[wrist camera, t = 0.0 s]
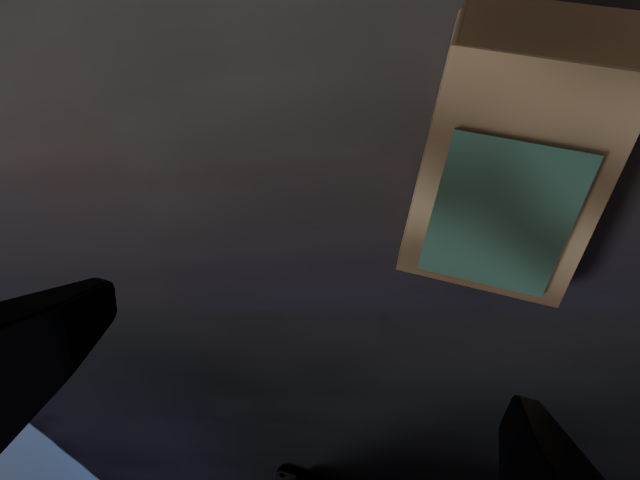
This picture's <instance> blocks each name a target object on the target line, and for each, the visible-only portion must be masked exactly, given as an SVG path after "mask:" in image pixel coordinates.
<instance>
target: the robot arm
mask: <svg viewBox="0 0 640 480" xmlns="http://www.w3.org/2000/svg"><path fill="white" fill-rule="evenodd" d="M116 313H117V306H116V297H115V288H114V285H113V283H112V282H110V281H108V280H104V279H101V278H90V279H86V280H82V281H79V282H75V283H71V284H67V285H63V286H59V287H55V288H51V289H47V290H43V291H39V292H36V293H32V294H28V295H24V296H20V297H16V298H12V299H8V300H4V301H0V454H1V453H2V452H3V450H4V449H5V448H6V447H7V446H8V445H9V444H10V443H11V442H12V441H13V440H14V438H15V437H16V436H17V435H18V434H19V433H20V432H21V431H22V430H23V428H25V426H26V425H27V424H28V423H29V422H30V421H31V420H32V419H33V418H34V417H35V415H36V414H37V413H38V412H39V411H40V410H41V409H42V408H43V407H44V406H45V404H46V403H47V402H48V401H49V400H50V399H51V398H52V397H53V396H54V395H55V394H56V392H57V391H58V390H59V389H60V388H61V387H62V386H63V385H64V384H65V383H66V381H67V380H68V379H69V378H70V377H71V376H72V375H73V373H74V372H75V371H76V370H77V368H78V367H79V366H80V365H81V363H82V362H83V361H84V359H85V358H86V357H87V355H88V354H89V353H90V351H91V350H92V349H93V347H94V346H95V345H96V343H97V342H98V341H99V339H100V338H101V337H102V335H103V334H104V333H105V331H106V330H107V329H108V327H109V326H110V325H111V323H112V322H113V321H114V319H115V317H116ZM276 480H322V479H319V478H316V477H313V476H310V475H307V474H304V473H301V472H298V471H295V470H292V469H289V468H286V467H283V466H281V467H279V468H278V470H277V473H276ZM499 480H606V479H605V478H604V477H603V476H602V475H601V473H600V472H599V471H598V470H597V469H596V468H595V466H594V465H593V464H592V463H591V462H590V460H589V459H588V458H587V457H586V456H585V455H584V453H583V452H582V451H581V450H580V449H579V447H578V446H577V445H576V444H575V443H574V442H573V440H572V439H571V438H570V437H569V436H568V434H567V433H566V432H565V431H564V430H563V429H562V427H561V426H560V425H559V424H558V423H557V421H556V420H555V419H554V418H553V417H552V416H551V414H550V413H549V412H548V411H547V410H546V408H545V407H544V406H543V405H542V404H541V403H540V402H539V401H538V400H537V399H535V398H531V397H528V396H524V395H520V394H516V395H514V396H513V397H512V399H511V401H510V403H509V405H508V408H507V410H506V412H505V414H504V416H503V418H502V420H501V423H500V427H499Z"/></svg>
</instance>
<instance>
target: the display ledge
mask: <svg viewBox="0 0 640 480" xmlns="http://www.w3.org/2000/svg"><path fill="white" fill-rule="evenodd" d="M639 134H640V11H639V10H631V9H623V8H614V7H606V6H598V5H590V4H581V3H573V2H565V1H557V0H466V1H465V3H464V4H463V6H462V8H461V9H460V10H459V12H458V14H457V18H456V22H455V26H454V30H453V34H452V38H451V43H450V47H449V51H448V55H447V59H446V63H445V67H444V71H443V75H442V79H441V83H440V87H439V92H438V96H437V100H436V104H435V108H434V112H433V116H432V120H431V124H430V128H429V132H428V137H427V141H426V145H425V149H424V153H423V157H422V161H421V165H420V169H419V173H418V177H417V182H416V186H415V190H414V194H413V198H412V202H411V206H410V210H409V214H408V218H407V222H406V226H405V231H404V235H403V239H402V243H401V247H400V251H399V256H398V261H397V266H396V270H401V271H405V272H409V273H413V274H417V275H422V276H426V277H430V278H434V279H438V280H442V281H447V282H451V283H455V284H459V285H463V286H468V287H472V288H476V289H480V290H484V291H489V292H493V293H497V294H501V295H505V296H509V297H514V298H518V299H522V300H526V301H530V302H535V303H539V304H543V305H547V306H551V307H556V308H558V306H559V304H560V302H561V300H562V298H563V296H564V294H565V291H566V289H567V287H568V285H569V283H570V281H571V279H572V276H573V274H574V272H575V270H576V268H577V266H578V264H579V262H580V259H581V257H582V255H583V253H584V251H585V249H586V247H587V245H588V242H589V240H590V238H591V236H592V234H593V232H594V230H595V227H596V225H597V223H598V221H599V219H600V217H601V215H602V213H603V210H604V208H605V206H606V204H607V202H608V200H609V198H610V196H611V193H612V191H613V189H614V187H615V185H616V183H617V181H618V178H619V176H620V174H621V172H622V170H623V168H624V166H625V164H626V161H627V159H628V157H629V155H630V153H631V151H632V149H633V146H634V144H635V142H636V140H637V138H638V136H639Z"/></svg>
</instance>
